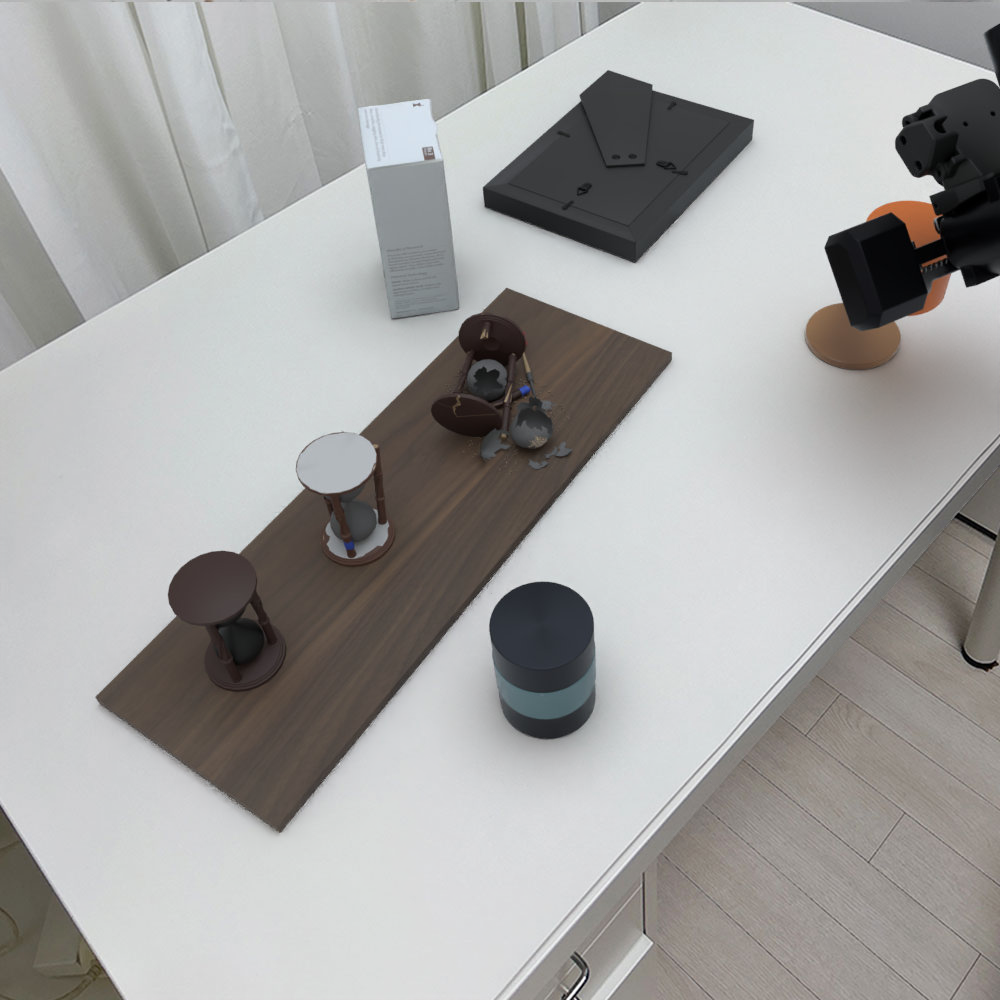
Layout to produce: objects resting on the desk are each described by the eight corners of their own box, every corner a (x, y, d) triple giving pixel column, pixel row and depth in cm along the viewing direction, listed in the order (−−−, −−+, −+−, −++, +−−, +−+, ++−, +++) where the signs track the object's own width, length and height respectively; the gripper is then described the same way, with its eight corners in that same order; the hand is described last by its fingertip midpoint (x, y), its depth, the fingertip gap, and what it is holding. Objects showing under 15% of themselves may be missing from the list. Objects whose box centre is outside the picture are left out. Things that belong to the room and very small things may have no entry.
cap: (964, 298, 76) (983, 239, 72) (888, 327, 75) (904, 269, 71) (907, 248, 80) (922, 190, 76) (834, 276, 78) (846, 217, 74)
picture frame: (608, 96, 109) (484, 207, 99) (607, 69, 107) (481, 180, 97) (752, 139, 102) (635, 262, 92) (755, 112, 100) (635, 235, 90)
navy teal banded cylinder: (595, 654, 69) (594, 579, 63) (597, 740, 65) (595, 670, 59) (501, 654, 69) (490, 580, 63) (497, 740, 65) (485, 670, 59)
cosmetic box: (382, 261, 95) (351, 104, 84) (451, 250, 96) (430, 92, 84) (392, 324, 90) (360, 166, 78) (465, 312, 90) (444, 153, 79)
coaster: (890, 306, 87) (891, 300, 86) (907, 368, 82) (909, 362, 82) (799, 309, 87) (800, 303, 87) (811, 371, 83) (812, 365, 82)
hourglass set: (671, 360, 85) (676, 272, 78) (280, 832, 63) (241, 765, 56) (507, 295, 91) (499, 208, 85) (99, 703, 69) (45, 629, 63)
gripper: (1143, 19, 63) (963, 106, 78) (873, 118, 59) (738, 189, 74) (1199, 207, 64) (1010, 256, 79) (939, 317, 60) (792, 347, 75)
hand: (890, 258), depth 77 cm, fingers closed on cap, 6 cm apart
